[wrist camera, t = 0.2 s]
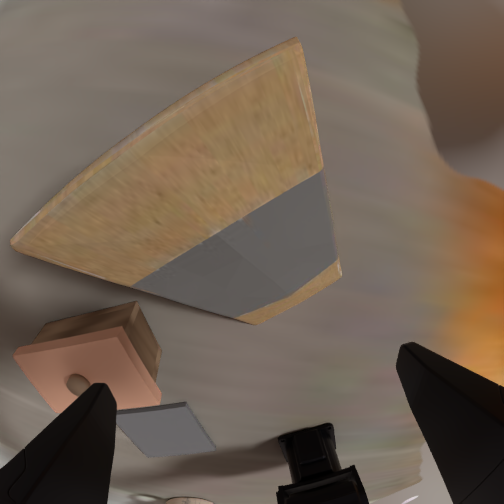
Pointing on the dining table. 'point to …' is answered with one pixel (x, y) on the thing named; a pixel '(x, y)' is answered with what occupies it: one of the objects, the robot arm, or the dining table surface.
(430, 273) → the dining table surface
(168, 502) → the white printed mug
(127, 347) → the lid
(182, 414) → the coaster
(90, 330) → the tea box
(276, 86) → the sandwich container
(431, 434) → the robot arm
